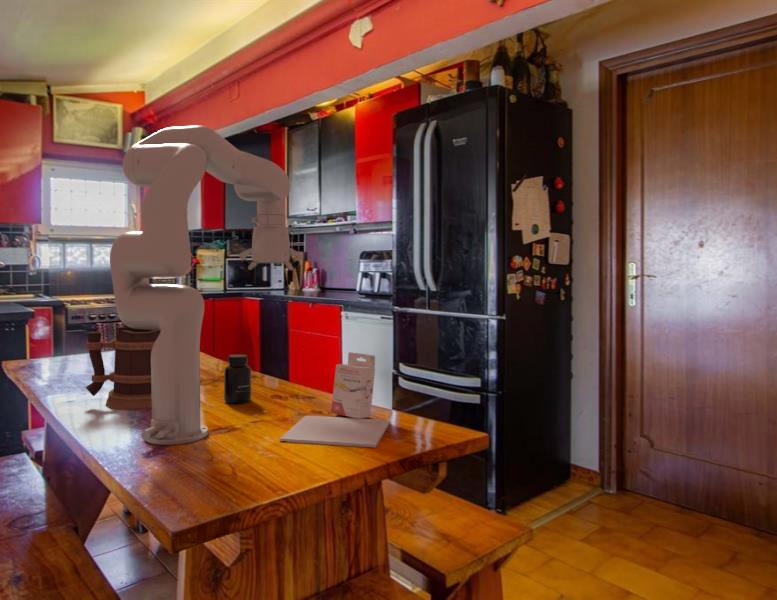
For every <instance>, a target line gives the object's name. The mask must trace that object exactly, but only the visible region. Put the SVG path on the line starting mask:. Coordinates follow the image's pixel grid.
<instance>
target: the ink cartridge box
mask: <svg viewBox="0 0 777 600" xmlns="http://www.w3.org/2000/svg"><path fill="white" fill-rule="evenodd" d="M361 358H362V359H363V360H365V361H362V360H357V359H361ZM375 366H376V355H374V354H368V353H367V354H366V353H359V352H348V356H347V364H340V363H338V364H336V365H335V371H334V383H333V391H332V398H331V399H332V401H331V410H330V413H331V414H335V415H339V416H343V417H344V416H345V417H347V418H358V419H369V418H371V413H372V405H373V404H372V403H373V394H374V393H373V392H374V385H375V384H374V383H375V373H376V368H375Z"/></svg>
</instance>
